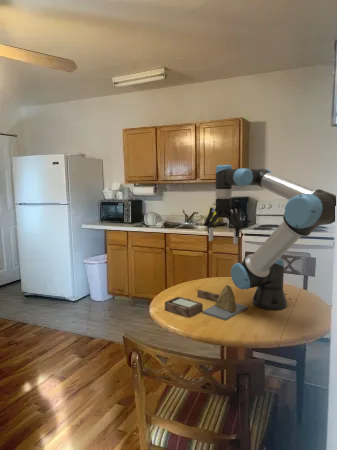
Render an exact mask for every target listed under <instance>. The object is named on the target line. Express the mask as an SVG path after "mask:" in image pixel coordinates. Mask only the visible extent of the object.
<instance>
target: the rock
mask: <svg viewBox="0 0 337 450" xmlns="http://www.w3.org/2000/svg"><path fill="white" fill-rule="evenodd" d="M236 303H237V302H236V298H235V295H234V292H233V289H232V287H231V286H230V285H225V286H224V287H223V289H222V290H221V292H220V294H219V297H218V299H217V301H216V302H215V304H214V305H216V306H218V307H219V308H221V309H224V310H228V311H230V312H235V311H236Z"/></svg>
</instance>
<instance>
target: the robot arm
mask: <svg viewBox="0 0 337 450" xmlns="http://www.w3.org/2000/svg"><path fill="white" fill-rule="evenodd" d="M214 174H215V207H214V206H212V207H209V212H208V215H207V217H206V219H205V222H204V225H203V226H204V227H206V228H207V234H208V242H212V241H214V227H213V226H214V224H215V223H216V222H217V221H218V219H221V218H223V219H227V220H228V221H229V223H230V224H231V226H232V227H233V228H234V230H233V245H238V243H239V238H240V230H243V229H244V225H243V223H242V220H241V218H240V215H239V213H238V212H239V211H238V208H233V209H232V202H233V200H232V197H233V196H232V191H233V189H232V187H233V186H236V187H237V186H238V187H246V186H257V187H260V188H261V189H265V190H267V191H268V192H271V193H274V194H275V195H277V196H279V197H282V198H284V199H285V200H288V201H287V203H286V204H285V205H284V210H285V211H284V213H283V215H282V220H283V221H282V222H281V223H280V224H279V225H278V227H276V229H274V231H273V232H272V233H271V234H270V235H269V236H268V237H267V239H266V240H265V241H264V242H263V243H262V244H260V245H261V246H259V247H258V249H257V250H256V251H254V253H250V254H247V255H246V256H245V258H243V260H242V261H241V262H236V263H234V264H233V265H232V266H231V269H230V278H231V280H232V282H233V284H234V286H235V287H237V288H238V289H240V290H242V291H243V290H244V291H245V290H249V289H253V288H256V289H255V292H254V295H253V297H252V304H253V306H255V307H257V308H259V309H262V310H269V311H278V310H283V309H285V308H287V305H288V303H287V297H286V295H285V292H284V274H285V263H284V262H285V261H284V259H283V258H282V256H283V255H284V254H285V253H286V252H287V251H289V249H290V248H291V247H292V246H293V245H294V244H295V243H297V241H299V239H300V238H301V237H308V236H310V234H312V233H313V232H314V230H316V229H317V228H318V227H319V226H327V225H331V224H334V223H335V222H336V221H335V206H336V196H337V195H336V194H333V193H331V192H328V191H326V190H323V189H320V188H319V189H313V188H310V187H308V186H305V185H303V184H301V183H297V182H296V181H293V180H290V179H287V178H284V177H282V176H280V175H277V174H274V173H272V171H271V170H270V169H267V168H245V167H244V168H233V166H232V165H230V164H218V165H216V168H215V173H214ZM214 214H215V215H214Z"/></svg>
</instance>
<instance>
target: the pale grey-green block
mask: <svg viewBox="0 0 337 450" xmlns="http://www.w3.org/2000/svg"><path fill="white" fill-rule="evenodd" d="M172 304H175V305H178V306H182V307H185V308H188V309H189V308H191V307H193V306H195V305H197V304H198V303H194V302H191V301H187V300H184V299H178V300H176V301H173V302H172Z"/></svg>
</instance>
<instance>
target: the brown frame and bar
mask: <svg viewBox="0 0 337 450" xmlns="http://www.w3.org/2000/svg"><path fill="white" fill-rule="evenodd" d="M196 295H197V298H200V299H204V300H209V301H211V302H215V303H216V301H217V299H218V297H219V296H220V294H217V293H213V292H210V291H206V290H203V289H197V294H196ZM178 299H184V300H187V301H191V302H194V303H198V304H197V305H195V306H193V307H191V308H189V309H188V308H185V307H182V306H178V305H175V304H172V302H173V301H176V300H178ZM203 306H204V305H203V303H202V302H199V301H196V300H193V299H190V298H185V297H183V296H176V297H174V298H171V299H168V300H166V301H164V310H165V311H167V312H170V313H173V314H176V315H179V316H182V317H185V318H192V317H194V316H196V315H198V314H200V313H202V311H204V310H203Z"/></svg>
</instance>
